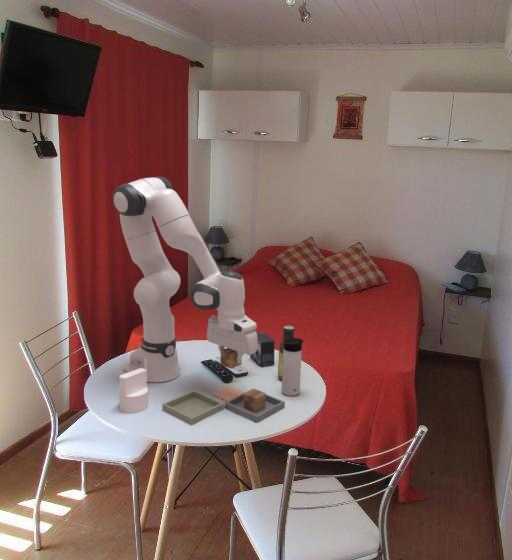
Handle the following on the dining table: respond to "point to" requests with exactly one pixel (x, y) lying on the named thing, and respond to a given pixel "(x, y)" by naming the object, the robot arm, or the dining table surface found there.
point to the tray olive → (193, 407)
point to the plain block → (254, 400)
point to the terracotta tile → (228, 393)
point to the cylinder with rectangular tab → (133, 391)
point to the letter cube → (229, 358)
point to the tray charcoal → (238, 408)
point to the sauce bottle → (287, 335)
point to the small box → (264, 350)
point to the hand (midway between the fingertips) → (231, 360)
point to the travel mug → (291, 367)
